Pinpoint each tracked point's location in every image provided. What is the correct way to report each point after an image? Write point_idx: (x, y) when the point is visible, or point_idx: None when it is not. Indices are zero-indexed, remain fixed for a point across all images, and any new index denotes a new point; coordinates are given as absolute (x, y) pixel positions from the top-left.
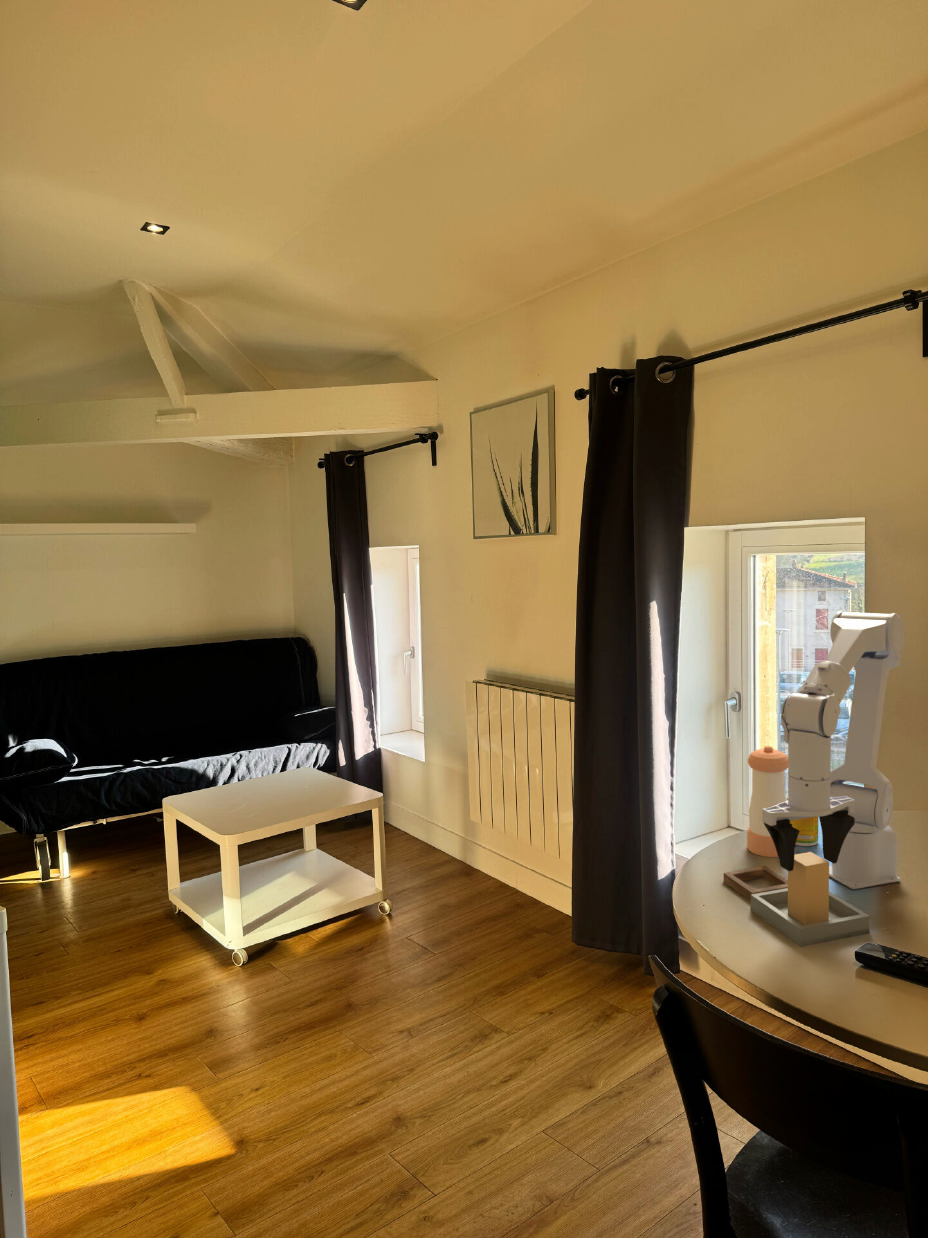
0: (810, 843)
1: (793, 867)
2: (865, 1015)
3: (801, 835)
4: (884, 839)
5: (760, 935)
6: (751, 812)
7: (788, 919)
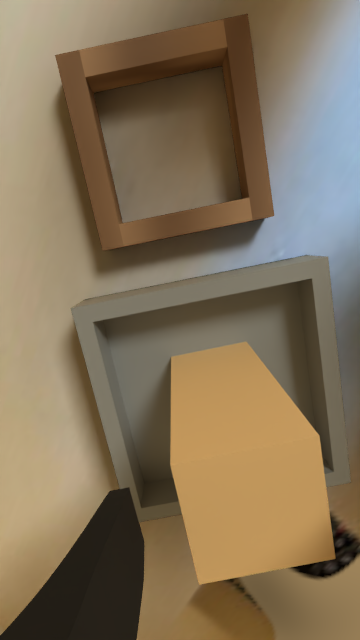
0: None
1: (143, 564)
2: None
3: None
4: None
5: (60, 432)
6: None
7: (120, 475)
